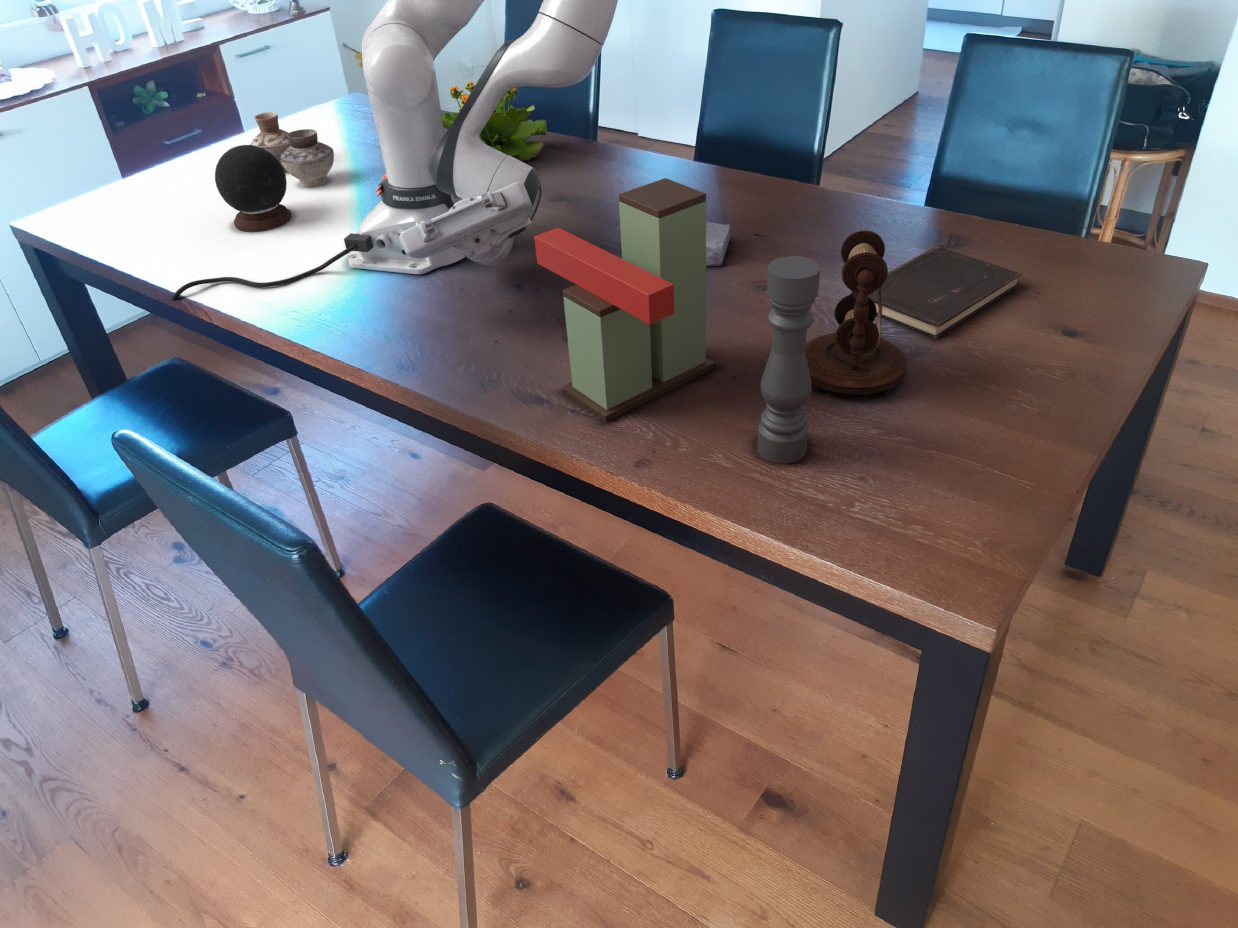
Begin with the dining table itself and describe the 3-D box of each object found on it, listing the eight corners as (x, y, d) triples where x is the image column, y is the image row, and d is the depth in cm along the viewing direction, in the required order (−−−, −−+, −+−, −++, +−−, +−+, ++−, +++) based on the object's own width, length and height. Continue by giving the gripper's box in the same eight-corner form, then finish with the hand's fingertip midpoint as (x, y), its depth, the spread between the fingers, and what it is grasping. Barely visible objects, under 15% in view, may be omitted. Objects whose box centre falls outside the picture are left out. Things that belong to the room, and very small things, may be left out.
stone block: (670, 275, 160) (726, 266, 157) (664, 249, 157) (721, 240, 154) (681, 248, 169) (734, 240, 166) (675, 224, 167) (729, 215, 164)
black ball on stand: (215, 230, 183) (190, 155, 173) (258, 205, 192) (236, 133, 183) (268, 237, 178) (245, 161, 169) (310, 211, 188) (290, 138, 179)
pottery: (290, 158, 215) (276, 105, 208) (350, 180, 201) (337, 125, 194) (247, 172, 209) (230, 118, 202) (305, 196, 195) (290, 139, 188)
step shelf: (562, 392, 129) (543, 216, 113) (669, 342, 138) (666, 173, 122) (606, 422, 122) (592, 240, 106) (715, 368, 132) (717, 193, 116)
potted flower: (541, 183, 193) (532, 98, 183) (430, 189, 194) (415, 104, 184) (549, 144, 213) (541, 65, 202) (449, 149, 214) (436, 71, 203)
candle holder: (752, 437, 118) (760, 257, 103) (799, 432, 118) (814, 253, 103) (762, 466, 113) (772, 282, 98) (812, 461, 113) (829, 277, 98)
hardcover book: (1018, 286, 146) (1021, 273, 145) (936, 339, 135) (938, 325, 133) (931, 257, 156) (933, 245, 155) (847, 304, 145) (849, 291, 143)
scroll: (908, 406, 121) (931, 268, 109) (795, 400, 124) (806, 265, 112) (901, 349, 133) (921, 218, 121) (798, 345, 135) (807, 217, 123)
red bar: (537, 263, 125) (534, 236, 123) (560, 254, 127) (558, 227, 125) (649, 325, 110) (648, 295, 108) (674, 314, 112) (674, 284, 110)
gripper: (406, 235, 143) (381, 220, 129) (525, 183, 142) (513, 162, 128) (422, 273, 144) (398, 261, 130) (541, 221, 142) (530, 204, 129)
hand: (456, 212), depth 129 cm, fingers open, 8 cm apart
